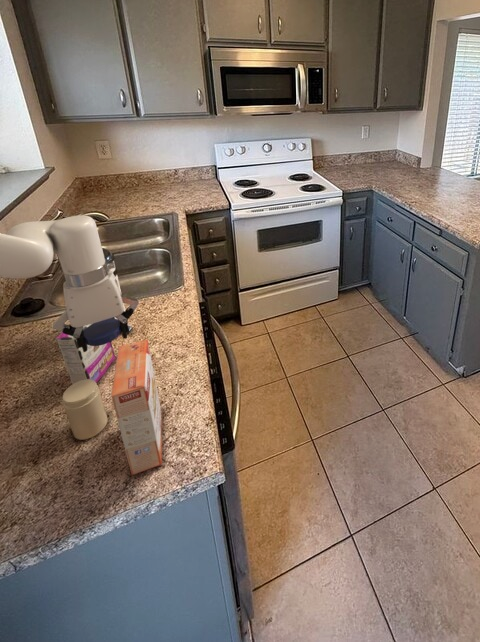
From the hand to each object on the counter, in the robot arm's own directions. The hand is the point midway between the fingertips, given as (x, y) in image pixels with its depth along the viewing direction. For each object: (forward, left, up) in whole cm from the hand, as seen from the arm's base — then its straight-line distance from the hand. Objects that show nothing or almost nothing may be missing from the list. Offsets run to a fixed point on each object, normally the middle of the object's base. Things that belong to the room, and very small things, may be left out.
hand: (105, 341), depth 81 cm
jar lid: (0, 0, +3) cm, 3 cm away
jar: (-6, -5, -17) cm, 19 cm away
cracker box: (+4, -16, -17) cm, 24 cm away
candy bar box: (-5, +12, -17) cm, 22 cm away
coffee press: (-1, +28, -17) cm, 33 cm away
